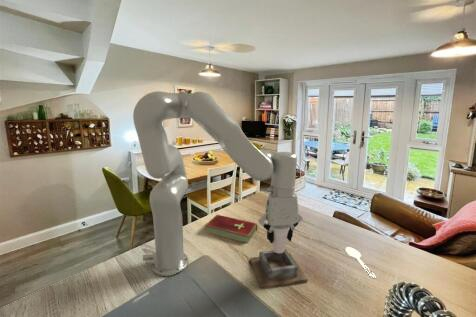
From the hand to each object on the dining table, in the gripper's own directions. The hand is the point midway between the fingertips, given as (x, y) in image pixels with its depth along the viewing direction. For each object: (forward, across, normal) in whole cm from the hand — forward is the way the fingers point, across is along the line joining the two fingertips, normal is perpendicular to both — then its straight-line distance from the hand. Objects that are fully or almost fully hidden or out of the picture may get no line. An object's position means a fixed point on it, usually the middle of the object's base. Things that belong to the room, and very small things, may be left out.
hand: (279, 239), depth 80 cm
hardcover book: (+13, -11, +28) cm, 33 cm away
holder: (+12, 0, 0) cm, 12 cm away
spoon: (+13, +33, -1) cm, 35 cm away
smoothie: (+4, 0, 0) cm, 4 cm away
